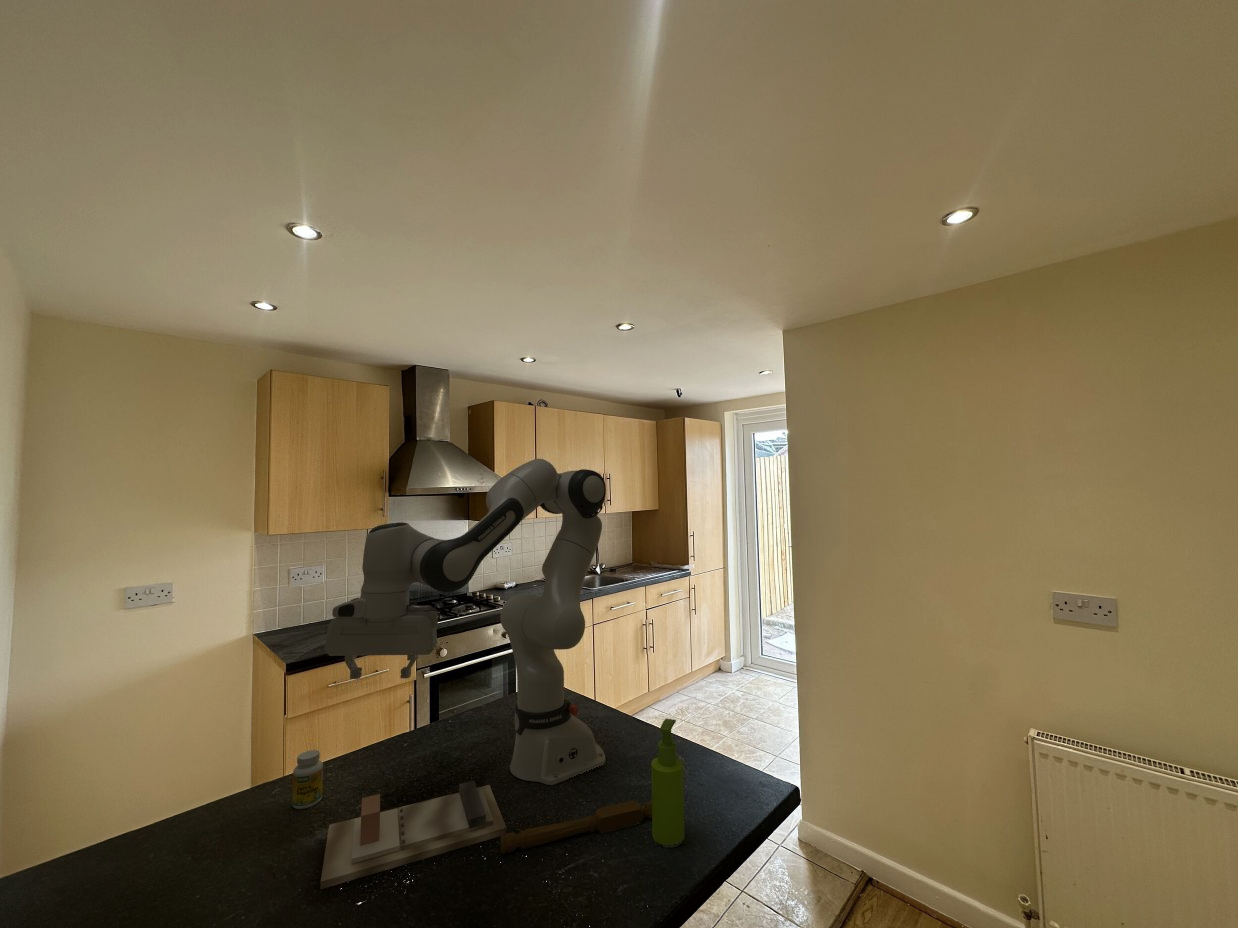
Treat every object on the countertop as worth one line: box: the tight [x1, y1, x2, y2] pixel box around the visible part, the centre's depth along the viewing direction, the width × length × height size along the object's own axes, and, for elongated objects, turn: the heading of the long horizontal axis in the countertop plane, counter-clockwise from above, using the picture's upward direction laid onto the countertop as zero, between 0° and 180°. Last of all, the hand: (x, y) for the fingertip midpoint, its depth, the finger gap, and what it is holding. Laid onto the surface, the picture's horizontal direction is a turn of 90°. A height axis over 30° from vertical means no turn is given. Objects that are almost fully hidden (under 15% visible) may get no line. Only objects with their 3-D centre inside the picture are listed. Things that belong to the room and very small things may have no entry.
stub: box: [351, 793, 399, 864], centre depth 91 cm, size 7×12×6 cm, turn 26°
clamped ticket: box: [319, 780, 507, 890], centre depth 94 cm, size 30×16×4 cm, turn 116°
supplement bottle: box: [291, 749, 324, 810], centre depth 104 cm, size 5×5×10 cm
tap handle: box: [499, 799, 652, 855], centre depth 94 cm, size 3×3×30 cm
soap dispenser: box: [650, 718, 685, 845], centre depth 93 cm, size 6×7×20 cm
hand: (380, 677), depth 97 cm, fingers open, 8 cm apart
